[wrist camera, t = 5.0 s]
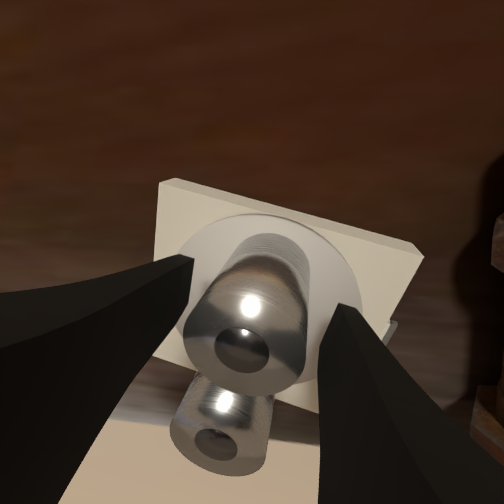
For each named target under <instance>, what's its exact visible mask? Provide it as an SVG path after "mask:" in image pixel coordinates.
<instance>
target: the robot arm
mask: <svg viewBox="0 0 504 504" xmlns="http://www.w3.org/2000/svg"><path fill="white" fill-rule="evenodd" d="M194 261H195V258H191V257H188V256H185V255H182V254H177V255H173V256H169V257H166V258H163V259H160V260H157V261H154V262H151V263H147V264H144V265H141V266H138V267H135V268H132V269H128V270H125V271H121V272H117V273H114V274H110V275H106V276H103V277H99V278H95V279H90V280H86V281H81V282H76V283H71V284H65V285H60V286H53V287H46V288H38V289H31V290H23V291H16V292H6V293H0V504H58V502H59V501H60V499H61V497H62V495H63V493H64V492H65V490H66V488H67V486H68V485H69V483H70V481H71V479H72V478H73V476H74V474H75V473H76V471H77V469H78V467H79V466H80V464H81V462H82V461H83V459H84V457H85V456H86V454H87V452H88V451H89V449H90V447H91V446H92V444H93V442H94V441H95V438H96V437H97V436H98V434H99V432H100V431H101V429H102V428H103V426H104V424H105V423H106V421H107V419H108V418H109V416H110V415H111V413H112V411H113V410H114V408H115V407H116V405H117V404H118V402H119V401H120V399H121V397H122V396H123V394H124V393H125V391H126V390H127V388H128V386H129V385H130V384H131V382H132V381H133V379H134V378H135V377H136V375H137V374H138V373H139V371H140V370H141V369H142V368H143V366H144V365H145V364H146V362H147V361H148V360H149V359H150V357H151V356H152V355H153V354H154V352H155V351H156V350H157V348H158V347H159V346H160V345H161V343H162V342H163V341H164V340H165V338H166V337H167V336H168V334H169V333H170V332H171V330H172V329H173V328H174V327H175V325H176V324H177V322H178V320H179V319H180V317H181V315H182V314H183V312H184V310H185V308H186V307H187V305H188V303H189V296H190V289H191V282H192V275H193V268H194ZM317 383H318V406H319V427H320V472H319V493H318V494H319V495H318V504H504V466H503V465H501V464H500V463H499V462H498V461H497V460H496V459H494V458H493V457H492V456H491V455H490V454H489V453H488V452H487V451H485V450H484V449H483V448H482V447H481V446H480V445H479V444H478V443H477V442H476V441H474V440H473V439H472V438H471V437H470V436H469V435H468V434H467V433H466V432H464V431H463V430H462V429H461V428H460V427H459V426H458V425H457V424H456V423H455V422H454V421H453V420H452V419H451V418H450V417H449V416H448V415H447V414H446V413H445V412H444V411H443V410H442V409H441V408H440V407H439V406H438V405H437V404H436V403H435V402H434V401H433V400H432V399H431V398H430V397H429V396H428V395H427V394H426V393H425V392H424V391H423V390H422V388H421V387H420V386H419V385H418V384H417V383H416V382H415V381H414V380H413V378H412V377H411V376H410V375H409V374H408V373H407V372H406V370H405V369H404V368H403V367H402V366H401V365H400V363H399V362H398V361H397V360H396V359H395V357H394V356H393V355H392V354H391V352H390V351H389V350H388V349H387V347H386V346H385V345H384V343H383V342H382V341H381V340H380V338H379V337H378V336H377V334H376V333H375V332H374V330H373V329H372V328H371V326H370V325H369V324H368V322H367V321H366V320H365V318H364V317H363V316H362V315H361V313H360V312H359V311H358V310H357V309H356V308H355V307H351V306H348V305H345V304H342V303H338V304H337V307H336V309H335V311H334V314H333V316H332V318H331V320H330V323H329V325H328V327H327V330H326V332H325V334H324V336H323V339H322V341H321V343H320V345H319V355H318V367H317Z"/></svg>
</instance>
